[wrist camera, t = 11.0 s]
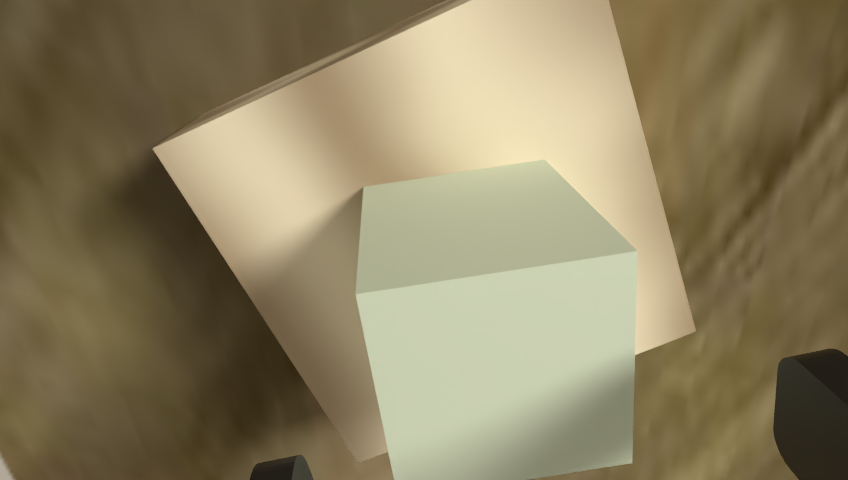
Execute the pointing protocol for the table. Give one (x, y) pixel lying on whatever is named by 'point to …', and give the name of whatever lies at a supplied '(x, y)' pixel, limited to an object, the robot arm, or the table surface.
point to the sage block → (497, 325)
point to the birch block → (417, 168)
